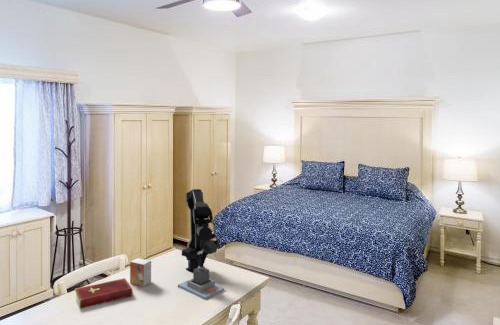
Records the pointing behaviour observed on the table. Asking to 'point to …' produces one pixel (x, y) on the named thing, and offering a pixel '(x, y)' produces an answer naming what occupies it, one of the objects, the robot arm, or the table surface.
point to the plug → (201, 275)
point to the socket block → (202, 288)
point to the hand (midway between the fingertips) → (201, 266)
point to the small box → (140, 272)
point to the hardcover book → (103, 292)
